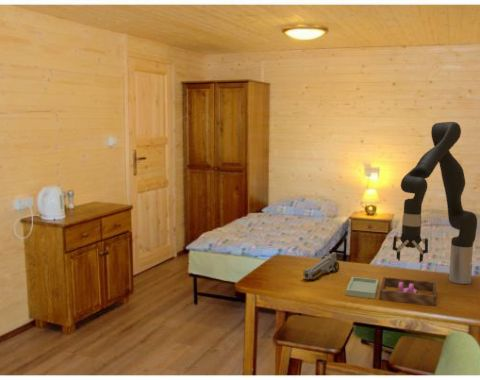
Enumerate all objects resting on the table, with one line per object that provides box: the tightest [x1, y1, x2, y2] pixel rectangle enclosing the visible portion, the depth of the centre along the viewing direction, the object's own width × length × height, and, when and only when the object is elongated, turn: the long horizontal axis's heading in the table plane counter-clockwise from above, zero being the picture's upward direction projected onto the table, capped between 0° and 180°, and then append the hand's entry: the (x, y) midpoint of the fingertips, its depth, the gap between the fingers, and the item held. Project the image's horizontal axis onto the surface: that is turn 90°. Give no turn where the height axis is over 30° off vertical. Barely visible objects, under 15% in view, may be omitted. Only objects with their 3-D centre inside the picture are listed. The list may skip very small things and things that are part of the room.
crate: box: [379, 276, 437, 307], centre depth 220 cm, size 22×19×4 cm
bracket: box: [397, 282, 418, 294], centre depth 220 cm, size 13×6×7 cm, turn 150°
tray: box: [345, 276, 380, 300], centre depth 227 cm, size 12×19×2 cm, turn 160°
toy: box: [302, 251, 340, 281], centre depth 247 cm, size 6×24×10 cm, turn 136°
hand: (409, 261), depth 218 cm, fingers open, 8 cm apart
